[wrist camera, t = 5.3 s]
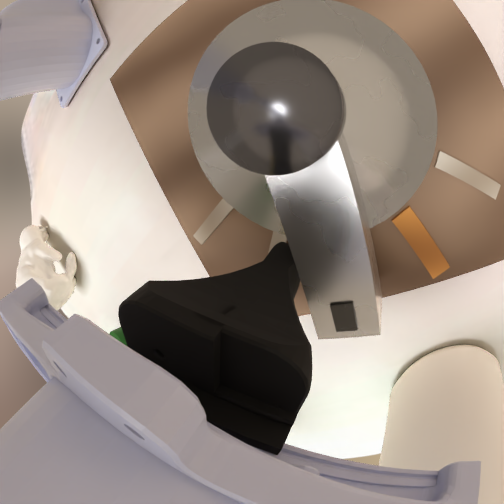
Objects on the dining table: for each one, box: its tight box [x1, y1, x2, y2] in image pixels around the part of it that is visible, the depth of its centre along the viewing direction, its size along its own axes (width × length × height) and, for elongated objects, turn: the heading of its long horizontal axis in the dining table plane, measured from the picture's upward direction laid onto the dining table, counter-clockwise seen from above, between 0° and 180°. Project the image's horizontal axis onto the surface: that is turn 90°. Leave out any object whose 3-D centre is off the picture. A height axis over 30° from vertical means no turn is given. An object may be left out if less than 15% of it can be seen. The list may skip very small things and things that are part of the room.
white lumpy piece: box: [16, 225, 77, 311], centre depth 24 cm, size 6×8×12 cm
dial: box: [188, 0, 437, 339], centre depth 8 cm, size 13×10×4 cm
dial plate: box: [110, 0, 504, 316], centre depth 10 cm, size 18×18×2 cm
